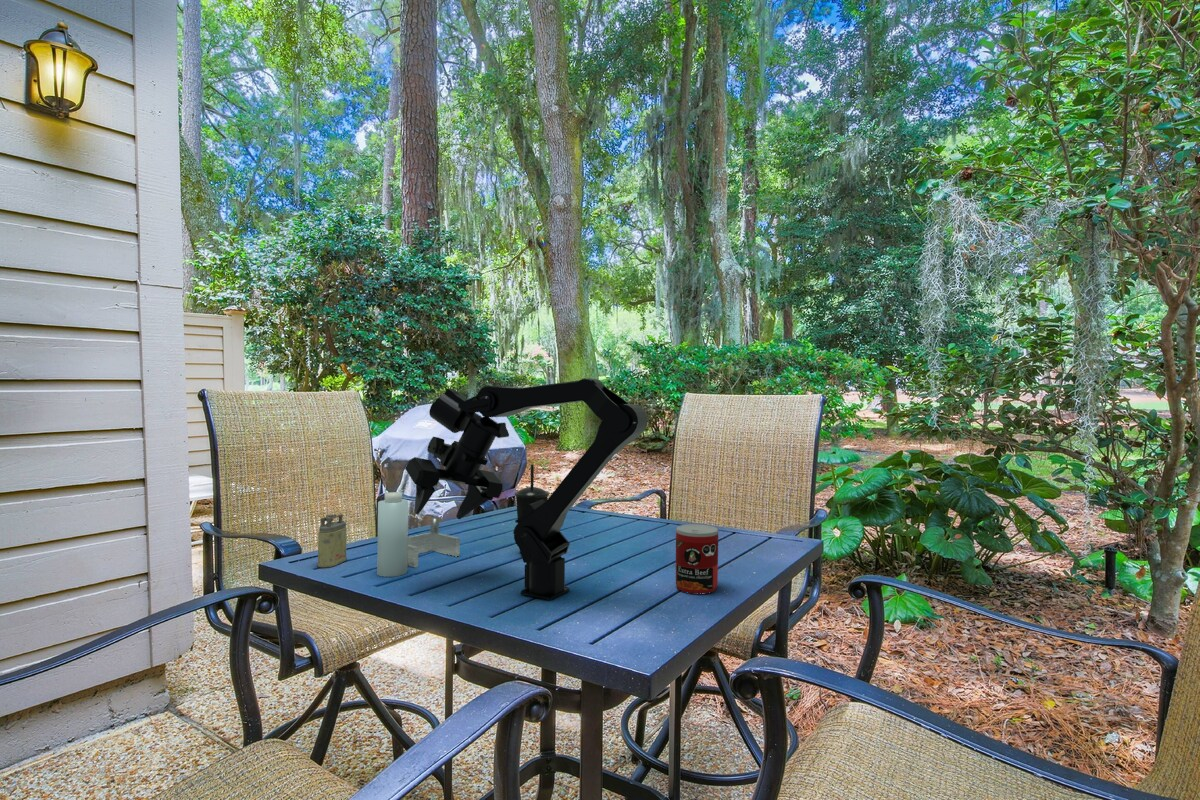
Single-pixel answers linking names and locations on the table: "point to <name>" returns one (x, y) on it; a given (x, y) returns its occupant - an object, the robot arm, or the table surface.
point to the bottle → (392, 535)
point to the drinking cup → (529, 495)
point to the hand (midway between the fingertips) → (437, 515)
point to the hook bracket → (431, 544)
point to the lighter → (332, 541)
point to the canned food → (696, 558)
